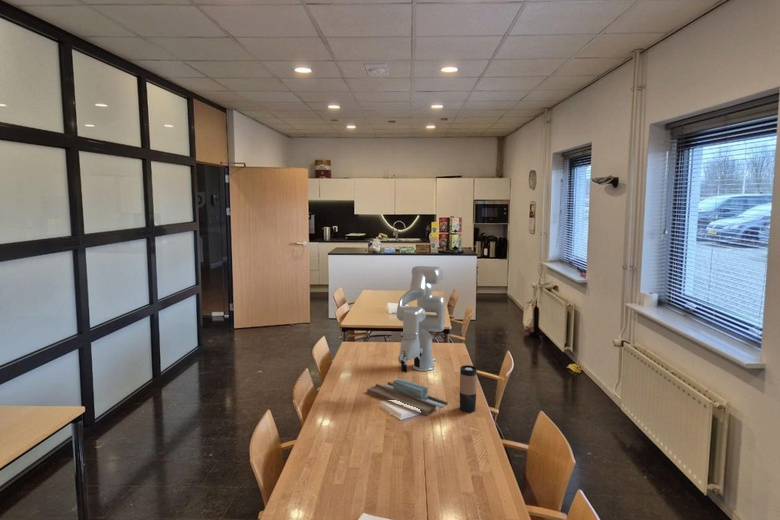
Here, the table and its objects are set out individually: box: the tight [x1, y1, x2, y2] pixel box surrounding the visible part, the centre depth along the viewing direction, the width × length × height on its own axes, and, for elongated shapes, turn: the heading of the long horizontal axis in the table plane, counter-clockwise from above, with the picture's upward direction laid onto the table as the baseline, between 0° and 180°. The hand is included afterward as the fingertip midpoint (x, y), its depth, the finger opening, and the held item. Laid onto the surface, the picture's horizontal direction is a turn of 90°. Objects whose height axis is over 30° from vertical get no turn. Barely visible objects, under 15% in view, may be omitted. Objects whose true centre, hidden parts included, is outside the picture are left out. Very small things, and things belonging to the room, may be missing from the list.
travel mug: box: [459, 364, 478, 414], centre depth 221 cm, size 8×8×20 cm
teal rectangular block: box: [392, 378, 429, 401], centre depth 237 cm, size 5×18×6 cm, turn 47°
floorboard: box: [366, 381, 448, 416], centre depth 234 cm, size 16×38×3 cm, turn 47°
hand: (410, 369), depth 235 cm, fingers open, 9 cm apart
